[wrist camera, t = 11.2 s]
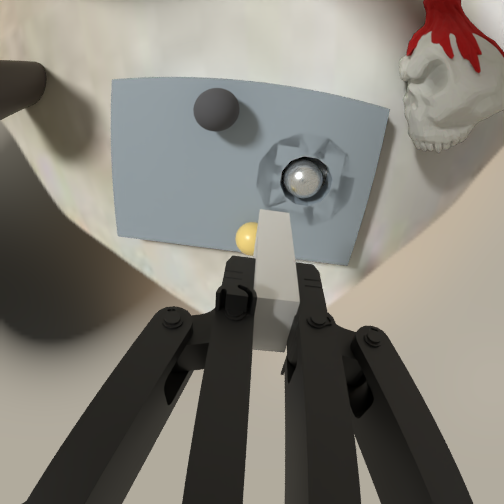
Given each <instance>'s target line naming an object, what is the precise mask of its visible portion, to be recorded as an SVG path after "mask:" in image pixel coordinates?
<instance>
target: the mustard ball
mask: <svg viewBox="0 0 504 504" xmlns="http://www.w3.org/2000/svg"><path fill="white" fill-rule="evenodd" d="M257 226H258V223H256V222H248V223H245V224H243V225H242V226H241V227H240V228H239V229H238V231H237V233H236V238H235V240H236V245H237V247H238V248H239V250H240V251H241V252H243V253H244V254H246V255H250V256H253V255H254V247H255V240H256V233H257Z"/></svg>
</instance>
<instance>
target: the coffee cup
mask: <svg viewBox="0 0 504 504" xmlns="http://www.w3.org/2000/svg"><path fill="white" fill-rule="evenodd" d="M45 86H46V73H45V70H44V68H43V66H42V65H41V64H40V63H37V62H29V61H10V60H0V120H2V119H4V118H6V117H8V116H10V115H12V114H14V113H16V112H18V111H20V110H22V109H24V108H26V107H29V106H31V105H33V104H35V103H36V102H37V101H39V100H40V98H41V96H42V95H43V93H44V90H45Z"/></svg>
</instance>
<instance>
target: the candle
mask: <svg viewBox="0 0 504 504" xmlns="http://www.w3.org/2000/svg"><path fill="white" fill-rule="evenodd" d="M423 4H424V8H425V10H426V21H425V24H424V26H423V27H422V28H421V29H419V30H418V31H417V32H416V33H414V35H413V37H412V39H411V40H410V41H409V44H408V49H407V55H405V56H404V57H402V59H401V60H400V62H399V71H400V76H401V79H402V80H403V81H408V87H407V93H406V95H405V97H404V99H403V102H404V105H405V117H406V119H407V120H408V124H409V131H408V134H409V136H410V137H411V138H412V139H413V141H414V144H415V146H416V147H417V149H419V150H421V149H422V150H423V151H427V149H428V150H429V151H433V149H434V146H433V145H435V148H436V152H437V153H440V152H441V151H442V147H443V149H444V150H447V149H449V148H450V145H451V146H454V145H457V143H462V142H463V140H466V139H467V137H468V134H469V133H470V131H471V130H472V129H473V127H474V126H475V125H476V123H478V122H480V121H482V120H484V119H487V118H488V117H490V116H492V115H494V114H495V113H497V112H500V111H503V110H504V52H503V50H502V49H501V48H500V47H499V45H498V44H497V43H496V42H495V41H494V40H492V39H491V38H489V37H487V36H486V35H485V34H483V33H482V32H481V31H480V30H479V29H477V27H476V26H475V25H474V24H473V23H472V22H471V21H470V20H469V19H468V18H467V16H466V15H465V13H464V11H463V9H462V7H461V0H424V1H423Z"/></svg>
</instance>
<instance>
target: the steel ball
mask: <svg viewBox="0 0 504 504" xmlns="http://www.w3.org/2000/svg"><path fill="white" fill-rule="evenodd" d="M283 180H284V185H285V187H286V189H287V190H288V192H289V193H290V194H292V195H293V196H295V197H298V198H309V197H311V196H313V195H315V194H316V193H317V192H318V191H319V190H320V188H321V185H322V180H323V179H322V173H321V171H320V169H319V167H318V166H317V165H316V164H315V163H313V162H311V161H309V160H305V159H301V160H296V161H294V162H292V163H291V164H289V165H288V167H287V168H286V170H285V172H284V177H283Z"/></svg>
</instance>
